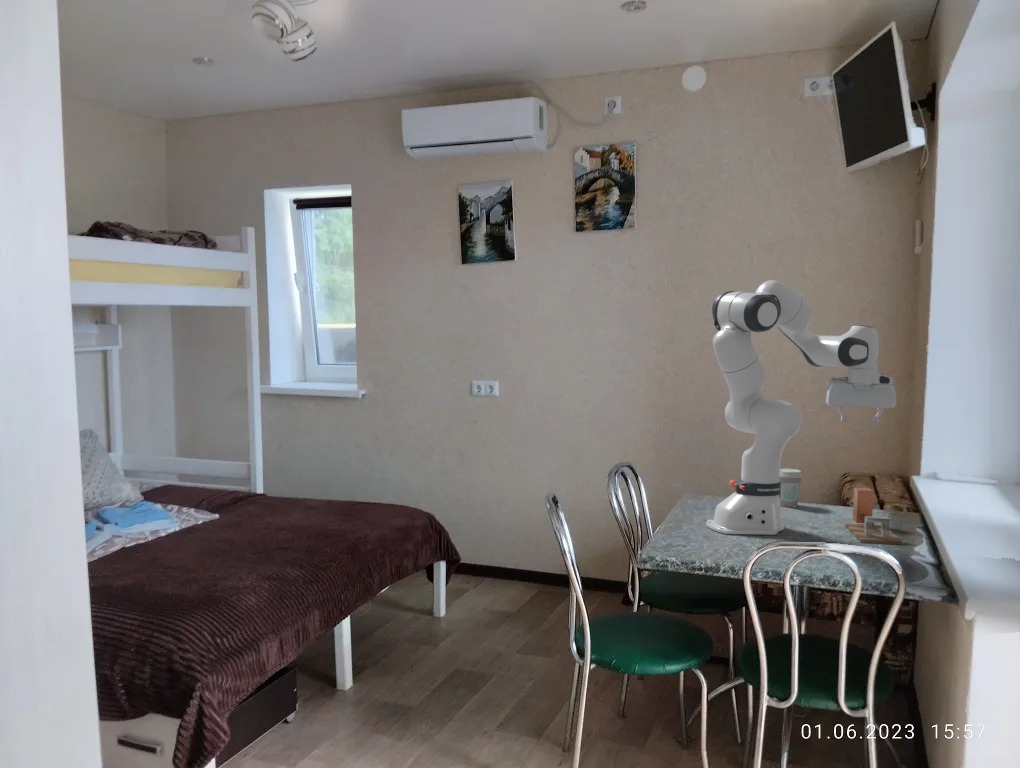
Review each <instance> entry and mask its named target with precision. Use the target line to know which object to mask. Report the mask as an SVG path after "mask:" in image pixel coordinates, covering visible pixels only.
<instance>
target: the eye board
mask: <svg viewBox="0 0 1020 768" xmlns="http://www.w3.org/2000/svg"><path fill="white" fill-rule="evenodd" d="M872 522H874V523H875V524H874V526H872ZM877 523H878V524H877ZM879 523H880V524H879ZM890 523H891V521H890V518H889V517H888V516H887V517H886V516H885V517H884V516H872V517H869V516H865V523H845V525H844V526H845V528H846V529H847V530H848V531H849V532H850V533H851V535H853V537H854V538H856V540H857V541H858V540H859V541H860V542H861V543H862V544H883V545H899V544H900V545H903V541H902V540H901V539H900V538H899V537H898V536H897V535H896V534H895V533H893V532H892V531H891V530H890ZM859 541H858V542H859ZM860 542H859V543H860Z"/></svg>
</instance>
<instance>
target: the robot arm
mask: <svg viewBox="0 0 1020 768" xmlns="http://www.w3.org/2000/svg"><path fill="white" fill-rule="evenodd" d="M711 307H712V309H711V312H712V314H711V315H712V319H713V320H714V321H713V325H714V327H715V329H716V330H718V331H717V332H716V333H715V334H714V336H713V338H712V346H713V351H714V355H715V358H716V359H715V360H716V361H717V363H718V367H719V368H720V371H721V374H722V376H723V378H724V380H725V383H726V385H727V388H728V391H729V401H728V402H727V404H726V406H725V409H724V420H725V421H726V423H727V425H728V426H730V427H731V428H733V429H735V430H737V431H740V432H742V433H747V434H748V433H749V434H753V435H755V437H754V442H753V444H752V445H751V447H748V448H747V449H746V450H744V452H743V453H742V455H741V469H740V470H741V475H740V476H741V477H740V479H739V480H738V481H736V480H734V479H730V481H729V482H728V485H729V486H730V487H731V488H733V489H734V488H735V491H734V492H733V493H731V494H730V495H729V496H728V497H726V498H725V499H723V500H722V501H720V502H719V503H717V505H716V507H715V510H714V517H713V519H707V521H706V523H705V524H706V526H707V527H708V528H710V529H711V530H713V531H715V532H718V533H720V534H725V535H772V536H773V535H774V536H775V535H778V533H779V532H782V531H783V530H784V529H785V528H784V524H783V520H782V513H781V506H780V500H779V499H780V496H781V482H780V469H781V465H782V463H781V462H782V457H783V456H782V455H783V451H784V449H785V448H786V446H787V444H788V442H789V440H791V438H792V437H794V436H795V435H797V433H799V431H800V430H801V427H802V424H803V414H802V412H801V410H800V408H799V406H797V405H795V404H793V403H791V402H788V401H786V400H781V399H774V398H773V399H772V398H766V397H764V396H763V395H762V394H761V389H762V388H763V387H764V385H765V382H766V381H767V376H766V373H765V370H764V368H763V366H762V364H761V361H760V359H759V356H758V354H757V352H756V350H755V347H754V345H753V344H752V343H753V342H752V337H751V336H752V332H754V333H764V332H768V331H769V330H771V329H772V328H773V327H774V326H777V327H778V329H779V331H780V332H781V333H782V334H783V335H784V336H785V337H786V338H787V339H788V340H789V341H790V343H793V345H795V347H797V348H798V350H799V351H800V352H801V354H802V355H803V357H804V358H805V360H806V361H807V363H808V364H809V365H810V366H813V367H815V368H816V367H833V368H834V367H835V368H846V376H831V377H830V378H828V379H827V381H826V384H825V385H826V390H827V391H826V396H825V403H826V405H827V406H829V407H837V411H838V413H839V415H840V422H847V421H848V419H847V418H848V415H846V414H844V412H843V411H844V408H849V407H850V408H876V412H877V413H876V414H875V415H872V422H873V423H879V422H880V417H881V415H882V414H883V413H884V408H885V409H894V408H895V407H896V406H897V392H896V388H895V387H894V385H893V384H894V378H893V377H891V376H888V375H885V374H883V373H879V372H878V370H879V369H878V364H877V361H878V360H877V359H878V356H879V347H880V346H879V334H878V331H877V329H876V328H875V327H872V326H871V325H870V326H869V325H863V324H854V325H852V326H851V327H850V329H849V330H848V331H847V332H845V333H843V334H840V335H825V334H824V335H823V334H817V333H816V334H815V333H813V331H811V330H810V329H809V326H810V324H811V322H812V320H813V316H814V308H813V306H812V304H811V303H810V302H809V301H808V300H807V298H805V297H804V296H803V295H802V294H800V293H799V292H798V291H797V290H795V289H793V288H791V287H790V286H788V285H787V284H785V283H783V282H781V281H779V280H775V279H769V280H766V281H764V282H762V283H761V284H760V285H759V286H758V287H757V289H756V290H755V292H749V291H734V290H729V291H725V292H723V293H720V294H718V295H717V296H716V297H715V299H714V300H713V303H712V306H711Z"/></svg>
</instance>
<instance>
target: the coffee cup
mask: <svg viewBox="0 0 1020 768" xmlns="http://www.w3.org/2000/svg"><path fill="white" fill-rule="evenodd" d="M802 478H803V473H802V471H801V470H800V469H796V468H787V467H785V468H784V467H783V468H780V482H781V496H780V499H779V500H780V504H781V505H783V506H787V507H786V508H794V507H793V506H797V507H798V503H799V496H800V490H801V484H802ZM783 506H782V507H783Z"/></svg>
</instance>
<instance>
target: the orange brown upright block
mask: <svg viewBox="0 0 1020 768" xmlns="http://www.w3.org/2000/svg"><path fill="white" fill-rule="evenodd" d="M853 488H854V489H853V508H852V509H853V511H852V521H854V522H855V524H865V516H869V517H873V510H874V509H873V506H874V490H873V489H871V488H870V487H855V486H854V487H853ZM874 525H875V522H872V526H874Z"/></svg>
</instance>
